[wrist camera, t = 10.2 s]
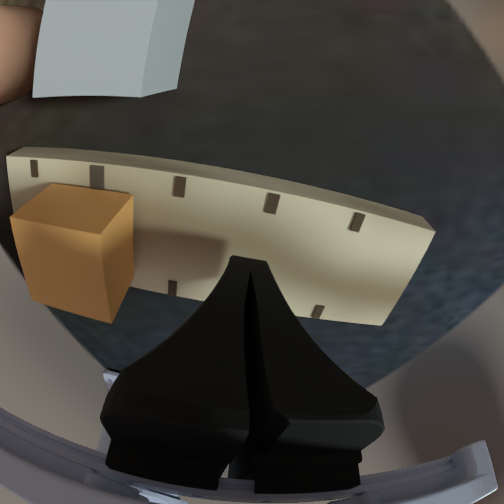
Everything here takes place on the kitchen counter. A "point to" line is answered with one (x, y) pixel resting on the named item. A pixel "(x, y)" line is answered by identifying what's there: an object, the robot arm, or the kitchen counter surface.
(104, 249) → the tan square block
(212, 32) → the kitchen counter surface
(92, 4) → the grey block
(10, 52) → the tan rounded cylinder
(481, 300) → the kitchen counter surface
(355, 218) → the counting board
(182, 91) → the kitchen counter surface
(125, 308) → the kitchen counter surface
